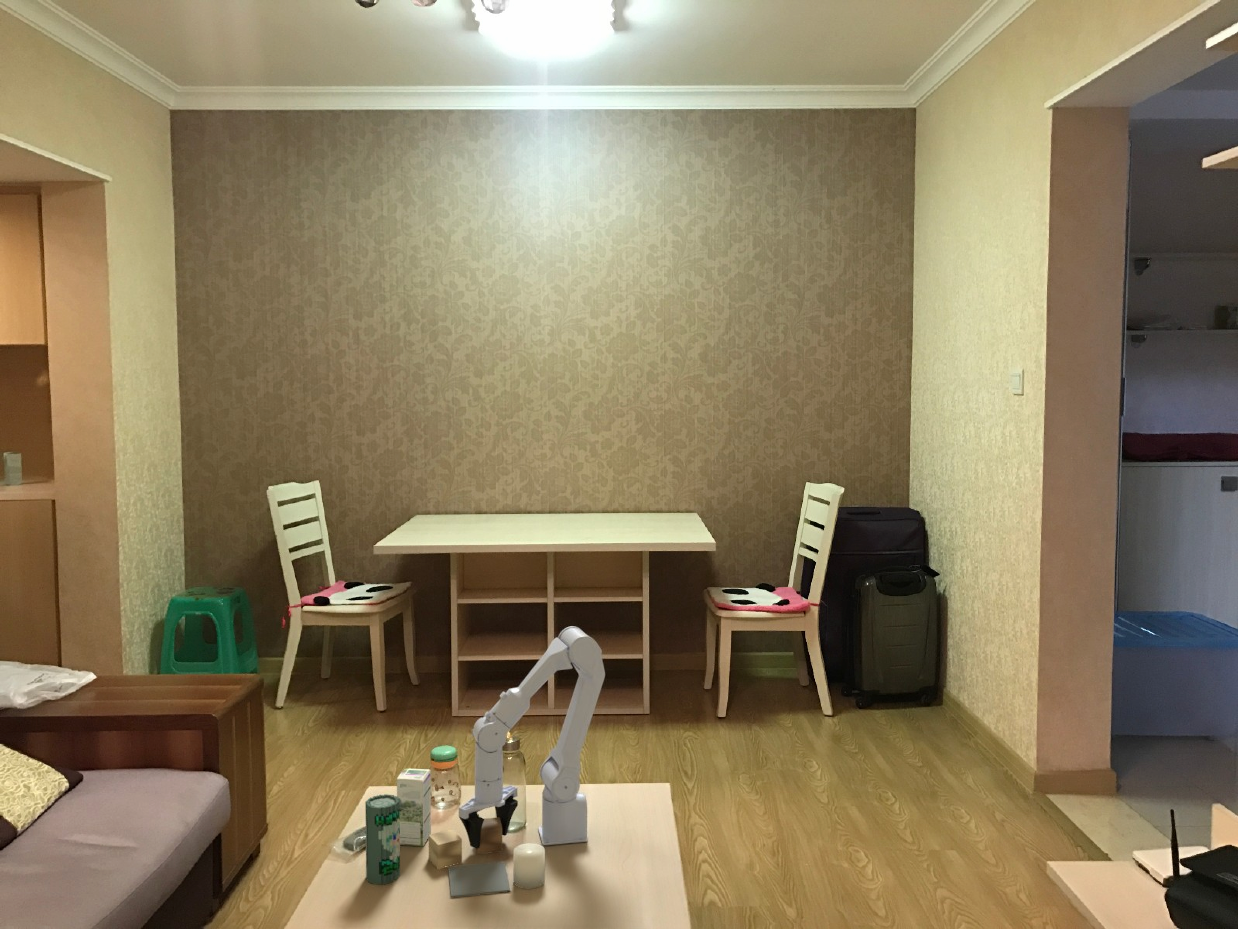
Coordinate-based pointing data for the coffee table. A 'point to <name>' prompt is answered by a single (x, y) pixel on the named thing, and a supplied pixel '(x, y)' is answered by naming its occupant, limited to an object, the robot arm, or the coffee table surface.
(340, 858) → the coffee table surface
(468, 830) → the robot arm
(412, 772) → the syrup box
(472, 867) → the rubber mat
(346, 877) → the coffee table surface
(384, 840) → the can
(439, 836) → the oak block
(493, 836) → the walnut block
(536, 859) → the white pillar candle
